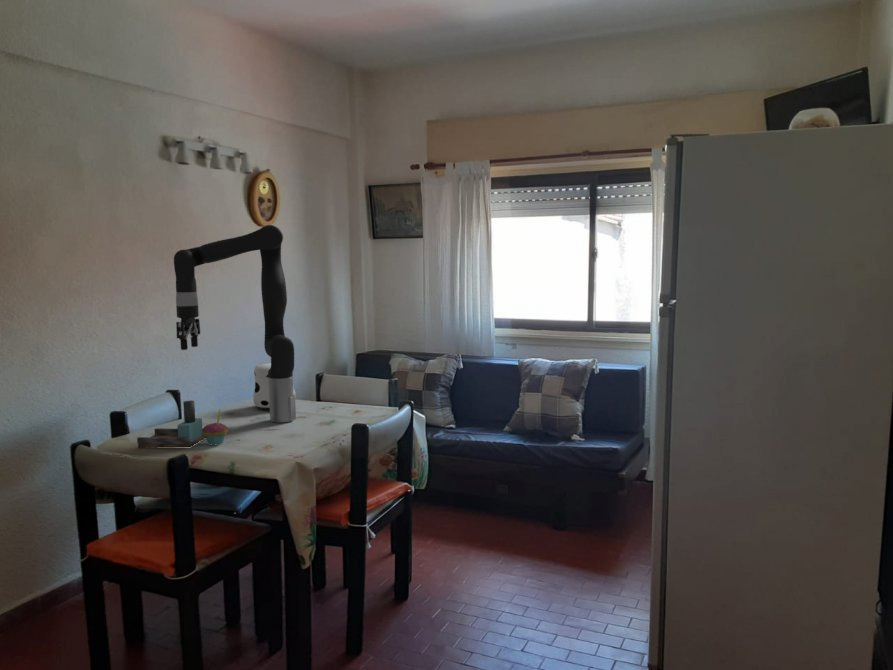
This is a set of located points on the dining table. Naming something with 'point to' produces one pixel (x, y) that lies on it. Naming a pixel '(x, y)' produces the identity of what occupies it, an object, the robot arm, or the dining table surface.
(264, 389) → the milk container
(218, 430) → the cupcake
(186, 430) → the press jaw
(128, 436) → the dining table surface
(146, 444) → the press base
